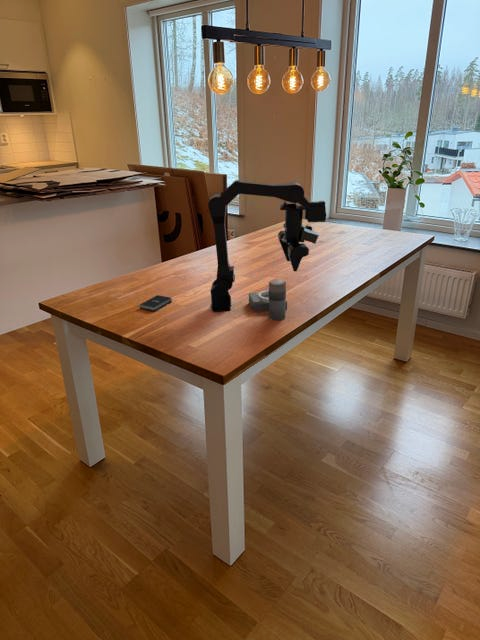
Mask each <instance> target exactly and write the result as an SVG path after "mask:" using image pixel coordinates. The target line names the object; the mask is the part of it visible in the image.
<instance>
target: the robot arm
mask: <svg viewBox="0 0 480 640" xmlns="http://www.w3.org/2000/svg"><path fill="white" fill-rule="evenodd" d="M238 195H249V196H259V197H269V198H276V199H279V200H282V201H283V202H282V203H281V204H279V210H280V211H285V213H284V216H285V217H284V223H283V224H282V225H283V226H282V227H283V228H284V230H280V231H279V232H278V233H277V239H278V242H279V244H280V246H281V249H282V252H283V254H284V256H285V257H284V258H285V259H286V262H290V264H291V266H292V271H293V272H297V271H298V270H299V267H300V264H301V261H302V259H303V258H304V257H307V256H309V255H310V249H309V247H308V246H307V245H306V244H305V241H307V242H309V243H312V244H314V245H315V244H316V243H317V241H318V240H319V236H320V235H319V233H318V232H317V231H315V230H314V229H313V227H312V226H311V225H309V224H306V225H305V226H304V225H303V219H304V220H306V222H307V223H326V220H327V209H326V201H325V200H318V201H309V200H308V198H307V197H305V191H304V187H302V185H301V184H300V183H299V182H284V183H283V182H282V183H277V184H276V183H264V182H253V181H246V180H245V181H244V180H243V181H242V180H240V179H235V180H234V181H232V183H231V184H230V185H229V186H227V187H226V188H225V189H224V190H223V191H221V192H220V193H216V194H214V195H212V196H211V197H210V199H209V201H208V203H207V208H208V211H209V215H210V218H211V222H212V224H213V230H214V231H213V232H214V238H215V239H214V241H215V249H216V251H215V252H216V257H217V258H216V260H217V271H216V279H214V281H213V282H212V283H211V288H210V301H211V302H210V308H211V312H213V313H215V312H216V313H217V312H226V311H227V312H228V311H231V307H232V296H231V294H230V292H229V290H231V289H232V288H233V286H234V285H233V284H234V283H235V279H236V274H235V272H234V271H235V266H234V265H230V262H229V252H228V241H227V232H226V216H227V206H228V205H229V204H230V203H231V202H232V201H233V200H234V199H235V198H237V196H238ZM287 202H289V203H287ZM297 204H299V205H297Z"/></svg>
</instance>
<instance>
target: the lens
mask: <svg viewBox="0 0 480 640" xmlns="http://www.w3.org/2000/svg"><path fill="white" fill-rule="evenodd" d="M286 287H287V282H286V280H284V279H281V278H273V279H271V280H270V281H268V290H269V311H268V318H269V319H270V320H272V321H283V320H284V319H286V310H285V303H286V301H287V288H286ZM282 319H283V320H282Z"/></svg>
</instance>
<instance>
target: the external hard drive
mask: <svg viewBox="0 0 480 640" xmlns="http://www.w3.org/2000/svg"><path fill="white" fill-rule="evenodd" d="M172 302H173V299H172V297H169V296H164V295H160V294H158V295H155V296H153V297H151V298H149V299H147V300H146V301H143V302H141V303H140V304H139V309H140V310H142V309H143V311H147V312H152V313H155V312H157V311H159V310H161V309H162V308H164V307H166V306H167V304H168V305H169V304H171V303H172Z"/></svg>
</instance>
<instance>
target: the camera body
mask: <svg viewBox="0 0 480 640" xmlns="http://www.w3.org/2000/svg"><path fill="white" fill-rule="evenodd" d="M248 305H250V306H249V307H250V308H251V309H252V312H253V313H262V312H263V313H265V312H269V289H268V290H263V291H259V292H258V294H257V292H249V293H248ZM287 307H288V301H287V300H286V303H285V311H287V310H288V308H287Z"/></svg>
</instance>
